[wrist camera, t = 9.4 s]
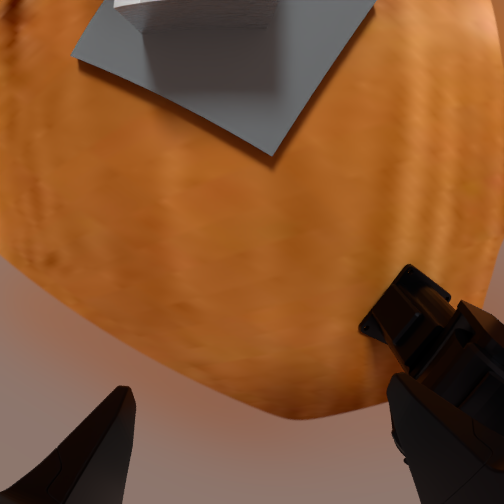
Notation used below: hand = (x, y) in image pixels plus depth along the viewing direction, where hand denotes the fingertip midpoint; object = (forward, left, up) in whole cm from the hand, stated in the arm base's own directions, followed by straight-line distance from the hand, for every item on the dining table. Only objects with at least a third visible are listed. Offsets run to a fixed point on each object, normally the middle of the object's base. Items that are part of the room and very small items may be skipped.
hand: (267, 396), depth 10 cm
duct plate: (+9, -13, -12) cm, 20 cm away
